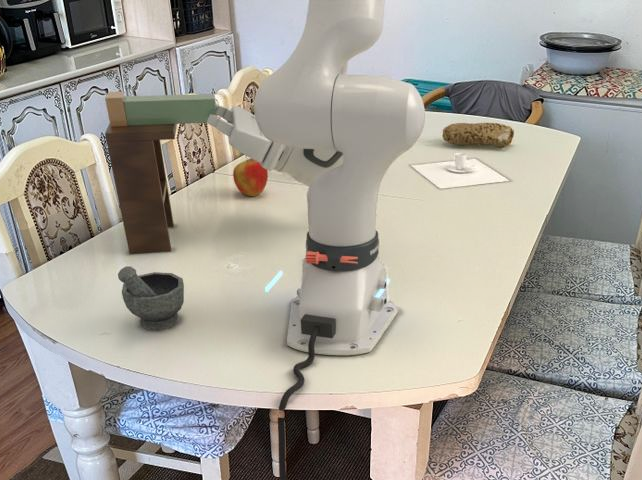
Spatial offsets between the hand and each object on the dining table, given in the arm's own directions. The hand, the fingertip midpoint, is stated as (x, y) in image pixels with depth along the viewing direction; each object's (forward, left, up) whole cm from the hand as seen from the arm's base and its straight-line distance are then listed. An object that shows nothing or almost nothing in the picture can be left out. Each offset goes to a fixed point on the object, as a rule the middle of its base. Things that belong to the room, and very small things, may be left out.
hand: (208, 111), depth 136 cm
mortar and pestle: (-38, -2, -26) cm, 46 cm away
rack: (-4, +11, -26) cm, 28 cm away
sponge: (+78, -52, -26) cm, 97 cm away
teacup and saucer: (+51, -48, -26) cm, 74 cm away
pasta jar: (-3, +8, -2) cm, 9 cm away
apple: (+25, +1, -26) cm, 36 cm away
